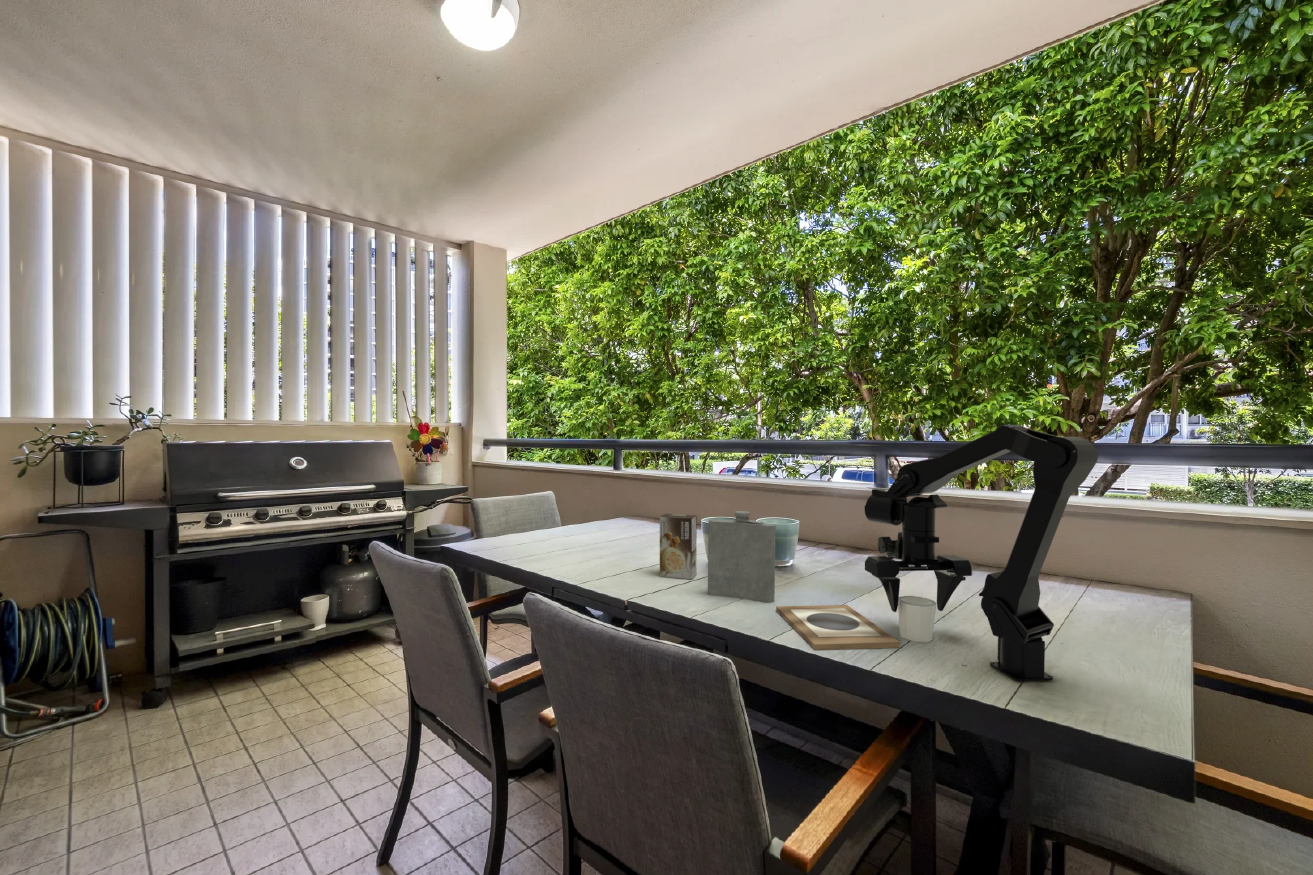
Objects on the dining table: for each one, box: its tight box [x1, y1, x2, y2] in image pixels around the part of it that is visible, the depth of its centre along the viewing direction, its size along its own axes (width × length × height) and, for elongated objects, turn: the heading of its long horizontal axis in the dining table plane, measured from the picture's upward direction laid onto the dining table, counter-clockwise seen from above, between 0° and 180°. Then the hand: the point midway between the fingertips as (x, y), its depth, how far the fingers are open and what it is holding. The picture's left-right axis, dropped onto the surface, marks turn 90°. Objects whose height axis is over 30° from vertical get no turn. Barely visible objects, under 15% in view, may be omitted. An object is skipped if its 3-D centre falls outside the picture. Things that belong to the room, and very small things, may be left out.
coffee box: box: [659, 513, 698, 580], centre depth 153 cm, size 9×6×16 cm
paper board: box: [775, 604, 901, 651], centre depth 114 cm, size 22×16×1 cm
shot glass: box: [897, 595, 937, 643], centre depth 109 cm, size 7×7×7 cm
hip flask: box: [707, 510, 777, 604], centre depth 134 cm, size 16×4×20 cm, turn 66°
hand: (917, 610), depth 109 cm, fingers open, 9 cm apart
